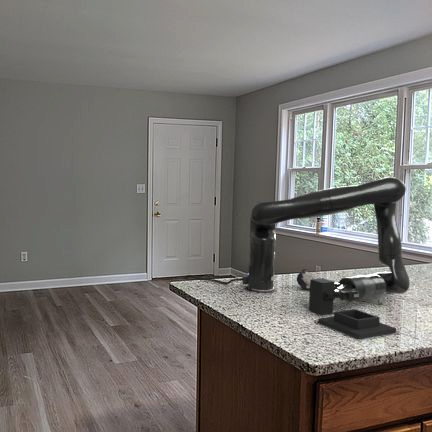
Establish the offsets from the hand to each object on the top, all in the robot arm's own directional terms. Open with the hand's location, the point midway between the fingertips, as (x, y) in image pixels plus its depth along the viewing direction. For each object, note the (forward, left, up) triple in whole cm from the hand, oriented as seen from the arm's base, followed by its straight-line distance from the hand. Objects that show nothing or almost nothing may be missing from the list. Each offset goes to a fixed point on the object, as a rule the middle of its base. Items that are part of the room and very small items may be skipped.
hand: (317, 293), depth 135 cm
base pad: (+8, -12, -6) cm, 16 cm away
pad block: (+1, +1, -6) cm, 6 cm away
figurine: (+5, +30, -6) cm, 31 cm away
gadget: (+21, +29, -6) cm, 36 cm away
